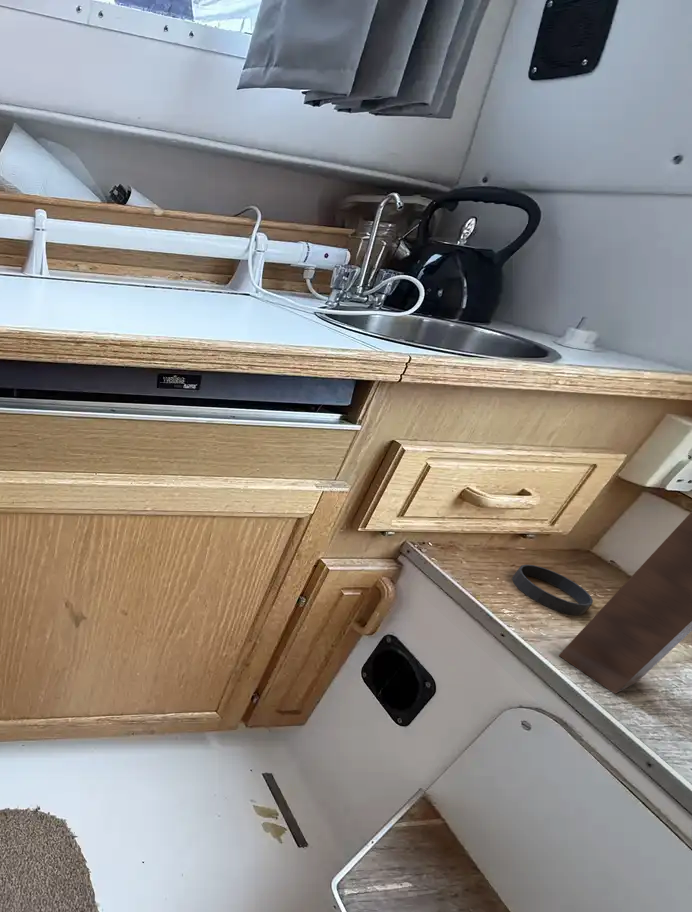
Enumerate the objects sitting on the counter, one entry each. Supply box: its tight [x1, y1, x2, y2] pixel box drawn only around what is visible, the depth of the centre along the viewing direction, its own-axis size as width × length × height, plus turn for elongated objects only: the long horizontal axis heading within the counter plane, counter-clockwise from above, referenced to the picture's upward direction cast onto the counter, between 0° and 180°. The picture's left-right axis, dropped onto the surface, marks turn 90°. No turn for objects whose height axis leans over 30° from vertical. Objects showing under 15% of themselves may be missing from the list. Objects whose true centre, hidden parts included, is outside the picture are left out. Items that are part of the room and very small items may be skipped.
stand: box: [558, 511, 692, 695], centre depth 64 cm, size 6×6×32 cm
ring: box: [511, 564, 594, 616], centre depth 86 cm, size 9×9×2 cm
